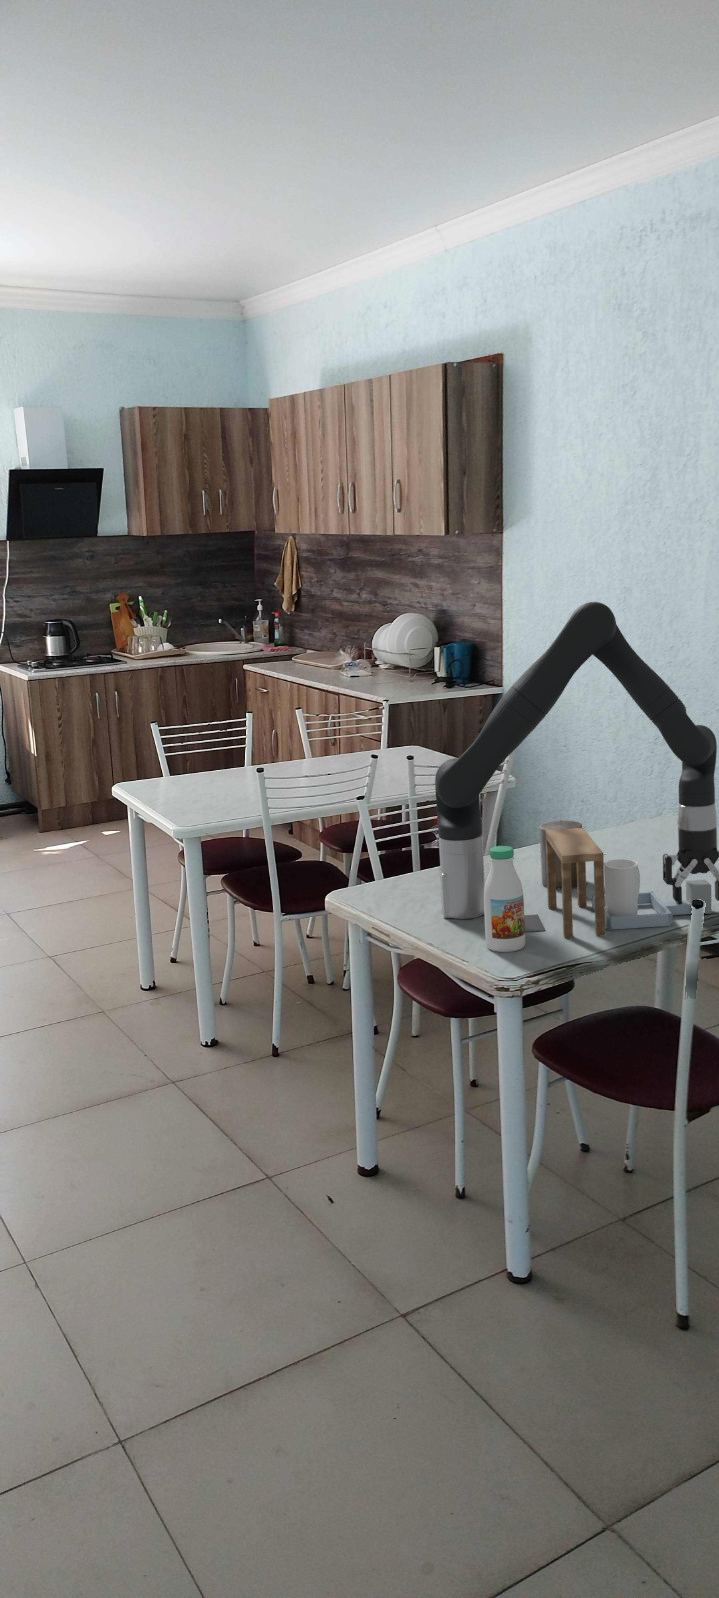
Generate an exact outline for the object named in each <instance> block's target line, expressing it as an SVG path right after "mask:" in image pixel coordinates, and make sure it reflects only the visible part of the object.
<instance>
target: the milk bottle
mask: <svg viewBox="0 0 719 1598" xmlns="http://www.w3.org/2000/svg"><path fill="white" fill-rule="evenodd" d="M514 851H515V850H514V847H512V846H510V845H497V846H496V845H495V846H493V847H491V848H490V849H489V857H490V858H489V859H490V862H491V864H490V868H489V869H490V870H489V872H488V875H487V876H486V880H485V887H484V913H485V914H484V931H485V945H486V947H487V948H488V949H489V950H491V951H493V952H500V953H511V952H518V951H520V950H522V949H523V948H524V947H525V945H526V933H525V917H524V915H525V901H524V899H525V898H524V889H523V885H522V882H521V879H520V877H519V875H518V873H517V871H516V868H515V865H514V860H515V857H514V855H515V852H514Z"/></svg>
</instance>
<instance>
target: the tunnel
mask: <svg viewBox="0 0 719 1598" xmlns="http://www.w3.org/2000/svg"><path fill="white" fill-rule="evenodd" d="M545 833H546V862H547V887H546V889H547V907H548V909H549V910H556V909H557V908H558V905H557V904H558V903H557V901H558V900H557V889H556V870H555V852H556V854H557V856H558V857H559V859H560V860H561V873H562V889H561V895H562V896H561V897H562V899H561V900H562V901H561V902H562V925H563V926H562V930H563V931H562V932H563V933H562V934H563V938H564V939H573V938H574V928H573V927H574V925H573V923H574V922H573V896H572V895H573V893H572V889H573V888H572V887H571V863H575V862H577V887H576V888H577V889H576V890H577V891H576V892H577V893H576V894H577V906H578V907H579V908H586V907H587V906H588V905H587V904H588V903H587V873H586V872H587V869H586V867H587V866H586V863H588V862H593V878H594V879H593V880H594V881H593V882H594V883H593V884H594V887H593V888H594V895H595V910H594V920H595V924H594V926H595V935H596V936H597V937H606V927H605V910H606V907H605V902H604V895H605V877H604V863H605V861H604V852H603V850H601V848H600V847H599V846H598V845H597V843H596V842H595V841H594V839H593V838H592V837H591V836H590V834H589V833H588V832H587V830H586V829H585V828H584V827H582V828H573V829H558V830H545Z"/></svg>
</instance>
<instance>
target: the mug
mask: <svg viewBox="0 0 719 1598" xmlns="http://www.w3.org/2000/svg"><path fill="white" fill-rule="evenodd" d="M640 884H641V873H640V869H639V864H638V862H637V861H636V860H633V859H628V858H615V859H610V860H607V861H604V895H605V898H606V907H605V910H606V911H607V913H608V914H609V916H610V917H614V916H629V915H639V914H638V911H639V908H638V907H639V906H638V905H639V904H638V895H639V892H640V886H641V885H640Z"/></svg>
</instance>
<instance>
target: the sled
mask: <svg viewBox="0 0 719 1598" xmlns="http://www.w3.org/2000/svg"><path fill="white" fill-rule="evenodd" d="M695 899H701V900H703V901H705V903H706V907H705V914H706V915H707V914H712V884H711V883H710V882H709V881H708V880H707V879H695V880H685V899H684V900H683V899H682V904H678V903H677V902H676V901H675V900H670V901H669V900H668V901H662V900H661V899H660V898H659V897H658V895H657V893H655V892H654V891H653V890H652V891H650V890H649V891H639V895H638V905H647V904H648V905H649V904H650V905H651V906H652V907H653V910H655V911H656V912H657V913H648V914H647V913H645V914H644V913H643V914H638V915H629V916H614V917H610V916H609V914H608V913H607V911H606V909H605V929H606V930H622V929H623V930H624V929H637V928H639V929H640V928H651V927H665V926H666V927H667V926H673V916H678V915H679V916H680V915H690V913H691V911H692V908H691V902H692V901H693V900H695ZM604 902H605V908H606V898H605V894H604ZM591 907H592V908H593V910H594V911H595V894H594V895H591ZM705 914H704V915H705Z"/></svg>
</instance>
